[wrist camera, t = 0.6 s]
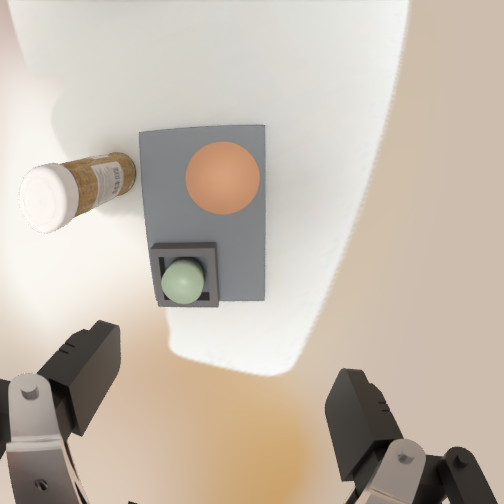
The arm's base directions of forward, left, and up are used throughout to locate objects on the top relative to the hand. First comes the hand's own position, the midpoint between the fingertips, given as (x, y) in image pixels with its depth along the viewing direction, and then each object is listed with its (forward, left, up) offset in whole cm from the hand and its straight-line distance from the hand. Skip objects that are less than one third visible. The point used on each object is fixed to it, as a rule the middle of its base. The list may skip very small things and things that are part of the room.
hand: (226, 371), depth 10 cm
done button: (+5, -6, -20) cm, 21 cm away
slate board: (0, -4, -21) cm, 22 cm away
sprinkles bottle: (-5, -13, -22) cm, 25 cm away
